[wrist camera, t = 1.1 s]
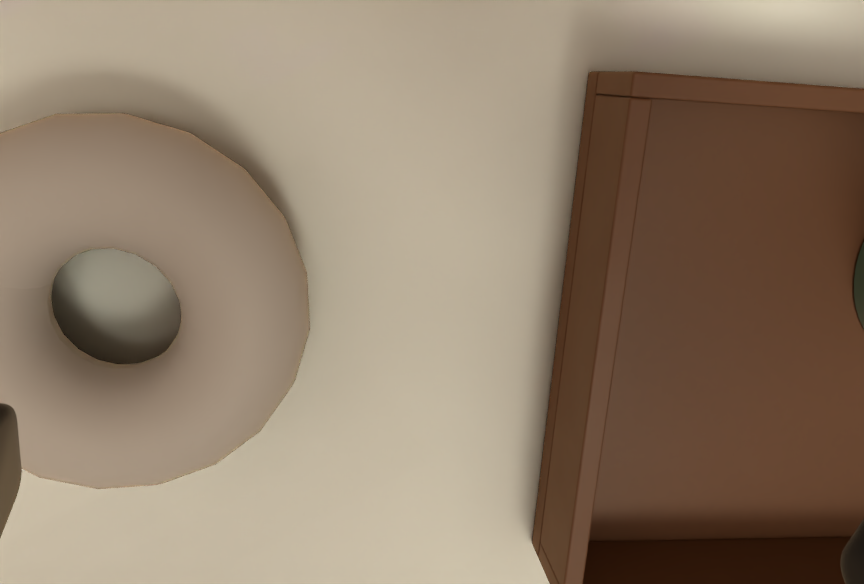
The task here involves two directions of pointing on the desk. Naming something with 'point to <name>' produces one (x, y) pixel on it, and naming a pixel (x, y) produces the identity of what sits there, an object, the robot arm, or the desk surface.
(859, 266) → the pen pot
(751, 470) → the tray
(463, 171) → the desk surface
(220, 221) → the donut
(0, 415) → the robot arm
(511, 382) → the desk surface
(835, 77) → the desk surface
